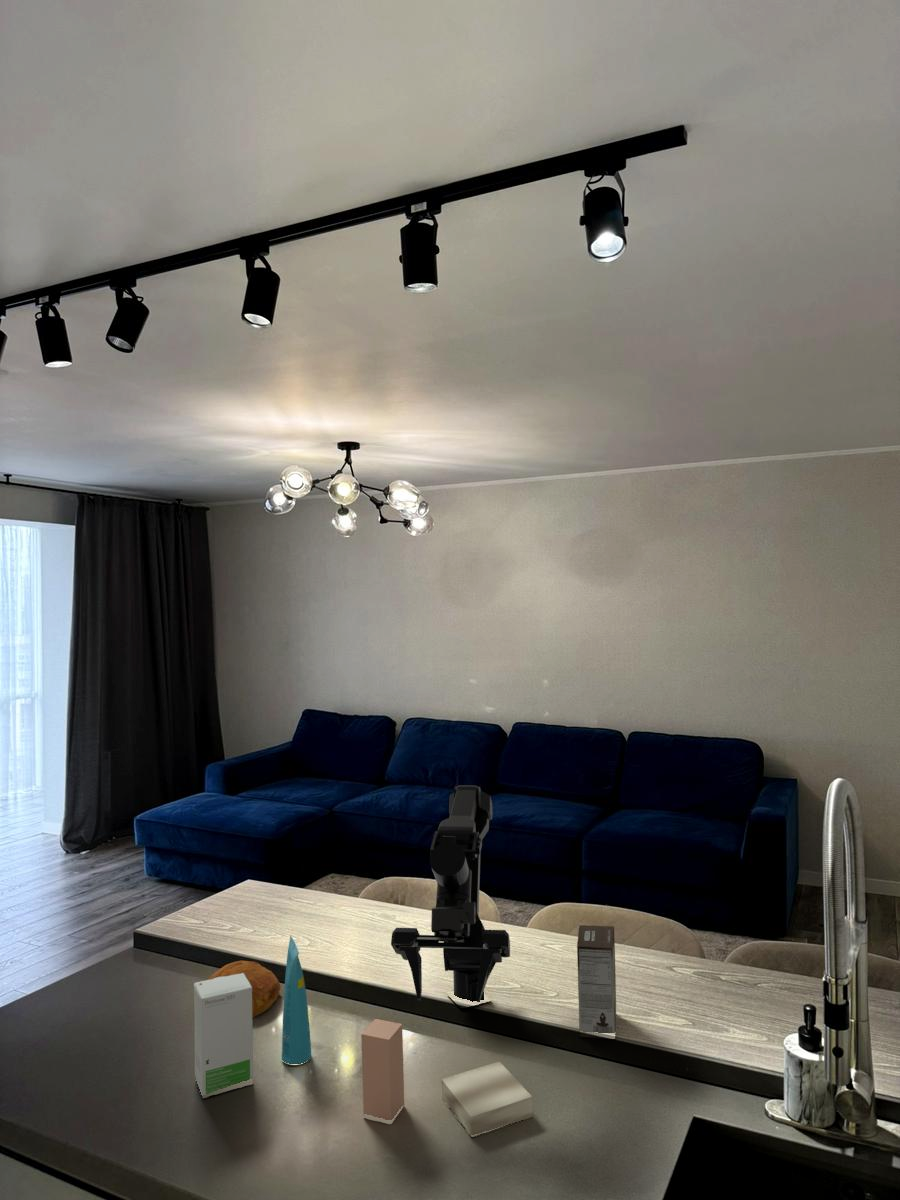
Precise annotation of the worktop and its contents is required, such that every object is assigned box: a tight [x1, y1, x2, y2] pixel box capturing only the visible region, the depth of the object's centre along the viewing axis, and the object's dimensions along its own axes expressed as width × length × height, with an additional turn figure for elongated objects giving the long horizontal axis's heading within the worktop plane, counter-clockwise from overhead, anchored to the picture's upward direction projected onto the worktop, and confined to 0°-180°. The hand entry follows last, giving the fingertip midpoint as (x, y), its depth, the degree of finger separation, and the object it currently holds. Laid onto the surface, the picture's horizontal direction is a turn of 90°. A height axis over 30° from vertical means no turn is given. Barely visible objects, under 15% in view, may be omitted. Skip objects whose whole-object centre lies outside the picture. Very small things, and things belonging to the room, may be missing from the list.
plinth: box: [441, 1061, 533, 1135], centre depth 120 cm, size 10×10×3 cm
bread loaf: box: [206, 960, 281, 1019], centre depth 153 cm, size 14×16×8 cm
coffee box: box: [576, 924, 617, 1033], centre depth 142 cm, size 9×6×16 cm
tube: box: [281, 934, 312, 1064], centre depth 134 cm, size 7×5×19 cm, turn 26°
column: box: [360, 1018, 405, 1120], centre depth 120 cm, size 4×4×12 cm
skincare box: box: [193, 973, 254, 1096], centre depth 129 cm, size 8×7×16 cm
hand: (448, 1000), depth 124 cm, fingers open, 9 cm apart
